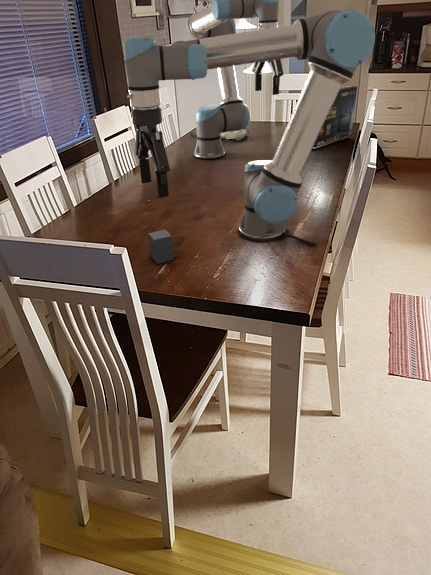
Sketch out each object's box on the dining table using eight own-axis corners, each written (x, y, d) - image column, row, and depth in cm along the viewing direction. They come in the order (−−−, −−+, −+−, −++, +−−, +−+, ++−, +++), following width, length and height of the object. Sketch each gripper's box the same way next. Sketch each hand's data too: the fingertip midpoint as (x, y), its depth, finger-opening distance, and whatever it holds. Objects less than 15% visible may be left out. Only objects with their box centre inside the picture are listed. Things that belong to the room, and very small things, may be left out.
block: (167, 252, 139) (165, 229, 135) (174, 259, 135) (171, 235, 131) (150, 256, 137) (147, 233, 133) (157, 264, 133) (154, 239, 129)
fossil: (240, 135, 249) (222, 118, 252) (230, 152, 256) (212, 134, 259) (256, 134, 263) (238, 117, 266) (246, 150, 269) (228, 133, 272)
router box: (314, 151, 231) (318, 94, 217) (296, 148, 237) (299, 92, 224) (352, 138, 251) (358, 85, 238) (335, 135, 258) (340, 83, 245)
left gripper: (244, 34, 190) (244, 90, 201) (277, 36, 171) (275, 97, 182) (259, 33, 193) (258, 88, 204) (294, 35, 174) (291, 95, 185)
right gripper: (117, 102, 123) (127, 179, 134) (148, 117, 103) (157, 206, 114) (143, 99, 126) (152, 175, 137) (178, 113, 106) (185, 200, 117)
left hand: (266, 92), depth 193 cm, fingers open, 13 cm apart
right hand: (154, 189), depth 125 cm, fingers open, 13 cm apart
